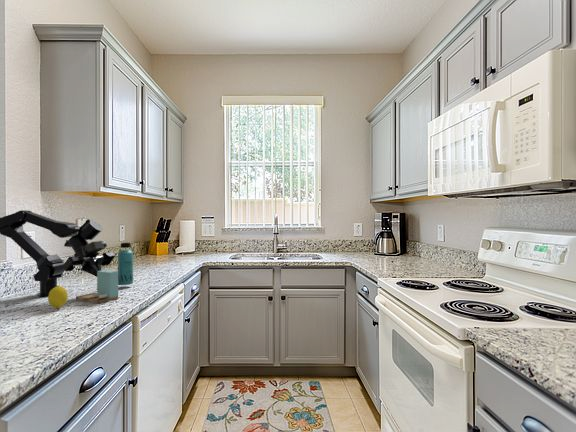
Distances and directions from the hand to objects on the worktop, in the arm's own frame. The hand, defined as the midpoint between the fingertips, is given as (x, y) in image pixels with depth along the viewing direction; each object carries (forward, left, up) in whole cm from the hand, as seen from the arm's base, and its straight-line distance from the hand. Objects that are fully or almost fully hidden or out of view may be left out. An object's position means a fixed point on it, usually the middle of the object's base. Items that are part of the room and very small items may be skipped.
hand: (100, 277), depth 129 cm
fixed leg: (+6, 0, -7) cm, 9 cm away
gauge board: (+1, -2, -8) cm, 8 cm away
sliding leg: (+2, -1, -7) cm, 7 cm away
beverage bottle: (-13, +14, -8) cm, 21 cm away
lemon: (+6, -15, -8) cm, 18 cm away
